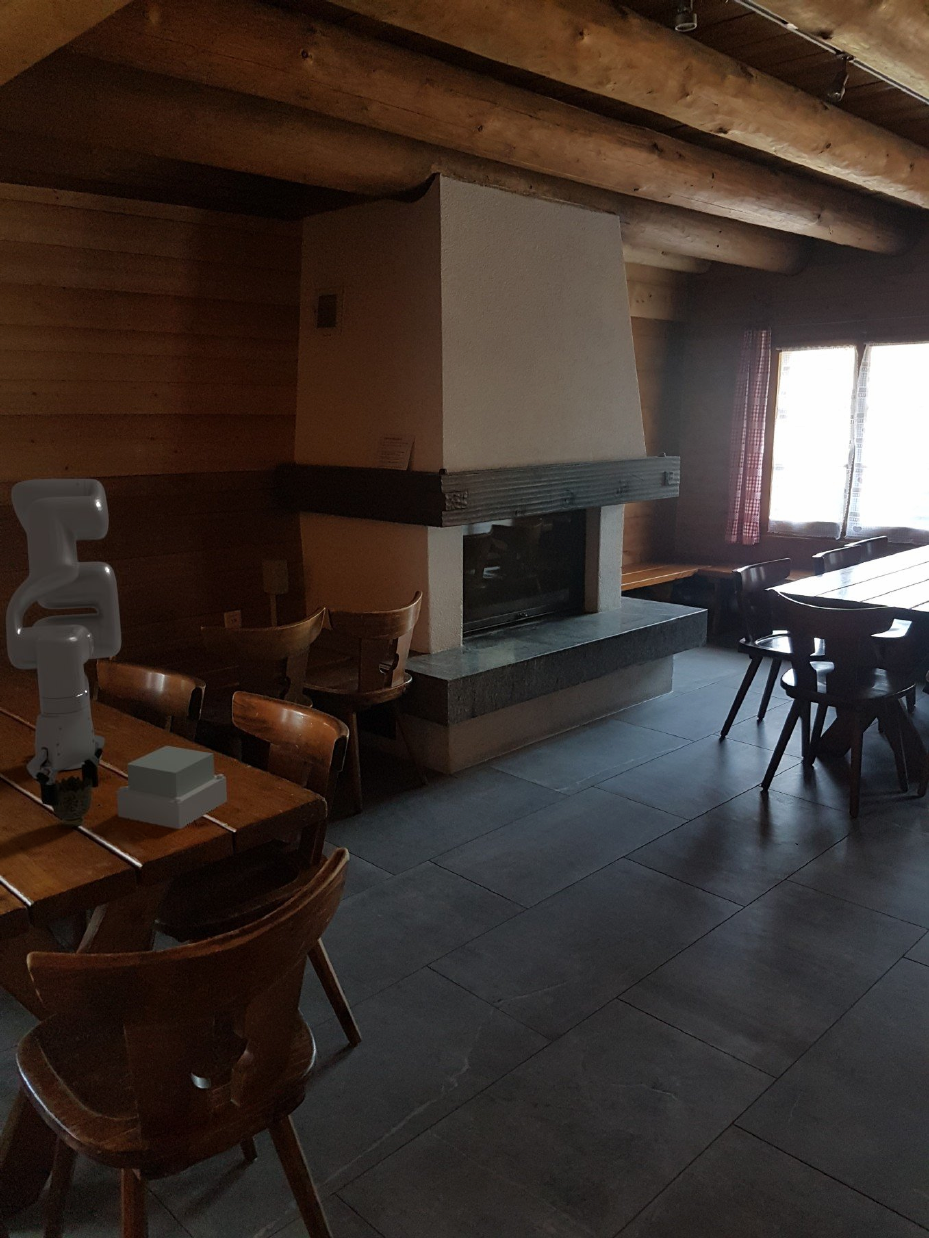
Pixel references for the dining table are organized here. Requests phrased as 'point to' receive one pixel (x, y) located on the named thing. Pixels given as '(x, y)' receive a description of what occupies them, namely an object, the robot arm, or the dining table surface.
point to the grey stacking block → (171, 787)
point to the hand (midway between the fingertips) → (70, 795)
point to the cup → (73, 800)
